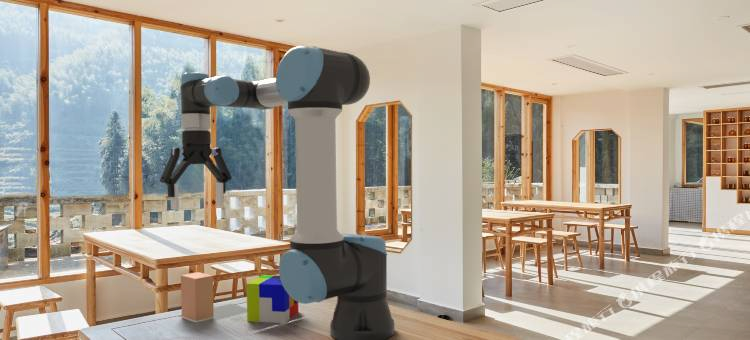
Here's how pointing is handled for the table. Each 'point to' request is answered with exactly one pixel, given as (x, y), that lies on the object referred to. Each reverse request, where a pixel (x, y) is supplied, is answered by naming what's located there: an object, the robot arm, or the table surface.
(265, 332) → the table surface
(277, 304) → the puzzle toy
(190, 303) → the block
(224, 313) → the mat
